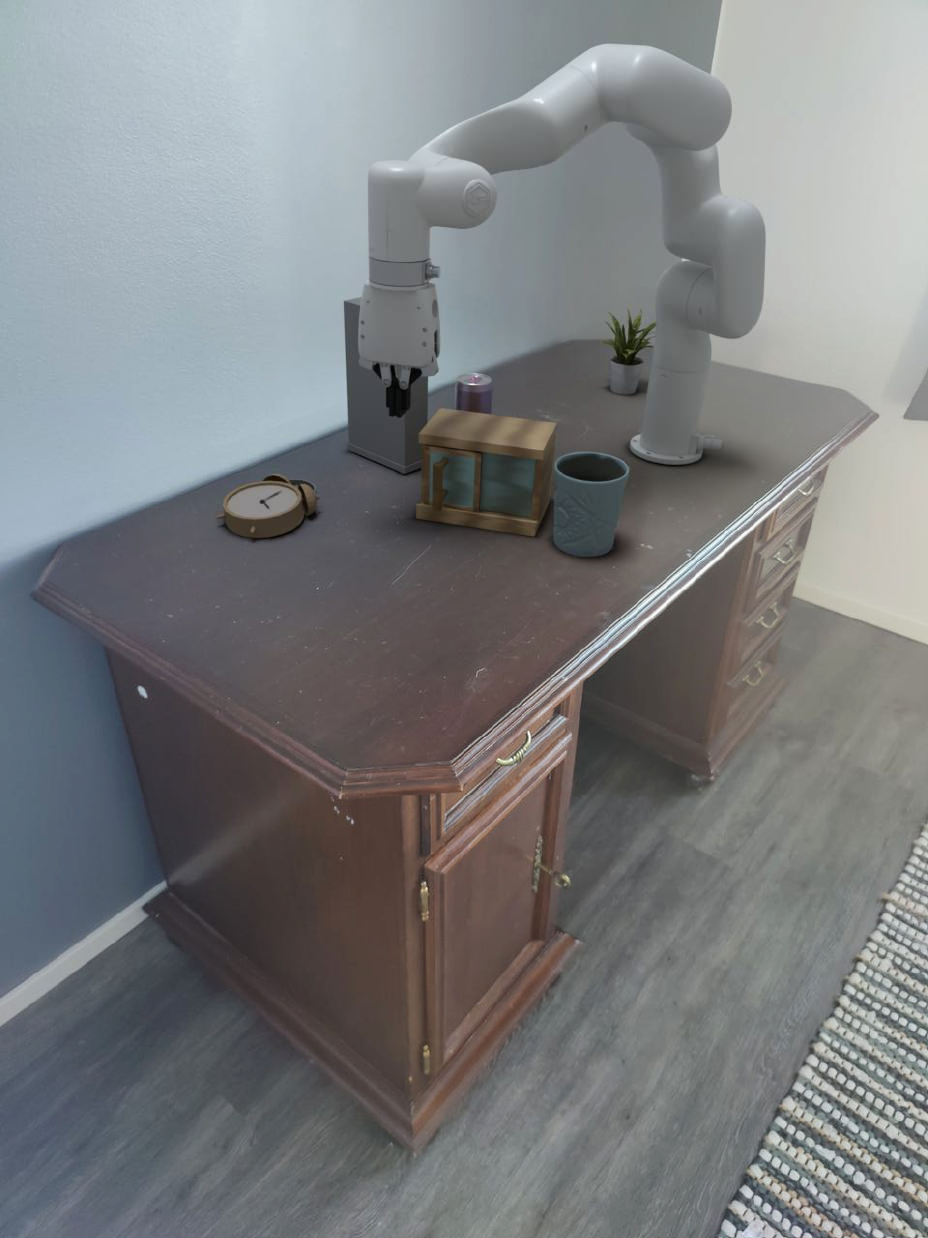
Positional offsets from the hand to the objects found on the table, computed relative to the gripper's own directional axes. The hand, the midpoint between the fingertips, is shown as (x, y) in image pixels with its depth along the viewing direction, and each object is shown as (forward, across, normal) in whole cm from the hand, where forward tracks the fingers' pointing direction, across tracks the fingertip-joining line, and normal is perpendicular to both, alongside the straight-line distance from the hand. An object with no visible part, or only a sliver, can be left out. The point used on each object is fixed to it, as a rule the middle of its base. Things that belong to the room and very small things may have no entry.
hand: (398, 413), depth 121 cm
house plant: (+16, -26, -71) cm, 77 cm away
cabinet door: (+15, -7, -2) cm, 17 cm away
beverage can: (+17, -5, -24) cm, 30 cm away
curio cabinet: (+17, -11, -9) cm, 22 cm away
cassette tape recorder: (+17, +9, -23) cm, 30 cm away
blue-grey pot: (+17, -27, -3) cm, 32 cm away
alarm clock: (+18, +18, +3) cm, 25 cm away
